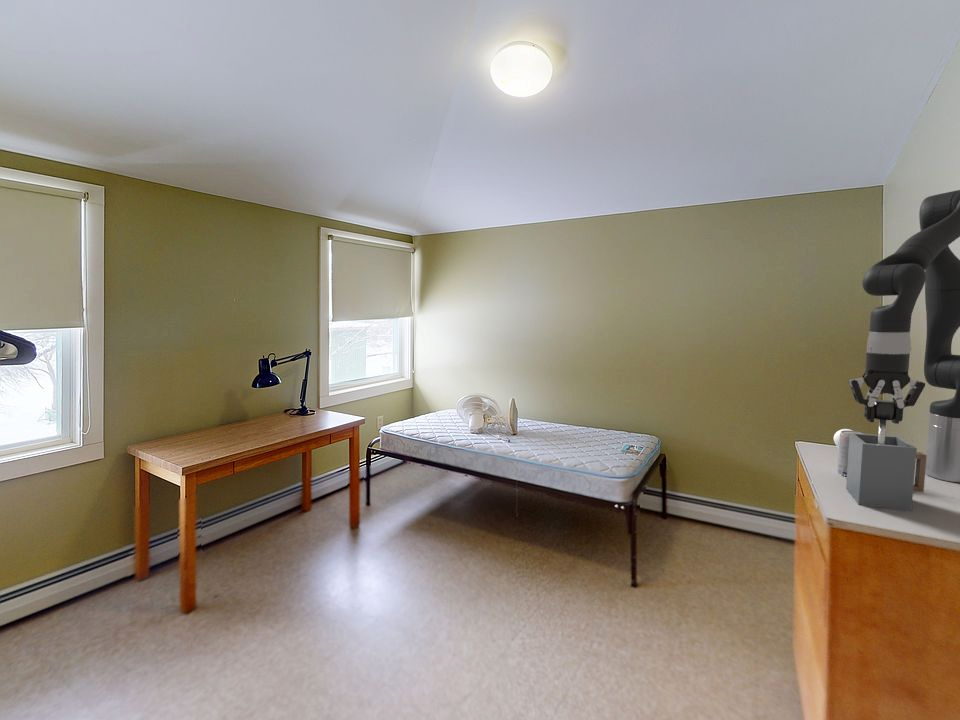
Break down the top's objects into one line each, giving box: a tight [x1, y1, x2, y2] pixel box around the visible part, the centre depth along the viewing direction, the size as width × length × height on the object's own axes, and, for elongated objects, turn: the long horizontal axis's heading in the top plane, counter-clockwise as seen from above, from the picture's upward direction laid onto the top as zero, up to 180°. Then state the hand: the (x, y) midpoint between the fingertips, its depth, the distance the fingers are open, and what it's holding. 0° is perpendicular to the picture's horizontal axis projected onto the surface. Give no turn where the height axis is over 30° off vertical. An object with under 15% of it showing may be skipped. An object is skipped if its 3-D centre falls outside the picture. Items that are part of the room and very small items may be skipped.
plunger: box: [873, 399, 896, 445], centre depth 107 cm, size 7×7×21 cm
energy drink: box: [837, 430, 864, 477], centre depth 123 cm, size 5×5×12 cm
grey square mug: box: [845, 433, 927, 512], centre depth 107 cm, size 13×10×15 cm
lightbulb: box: [833, 428, 854, 451], centre depth 130 cm, size 6×6×11 cm
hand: (882, 421), depth 106 cm, fingers closed on plunger, 4 cm apart
